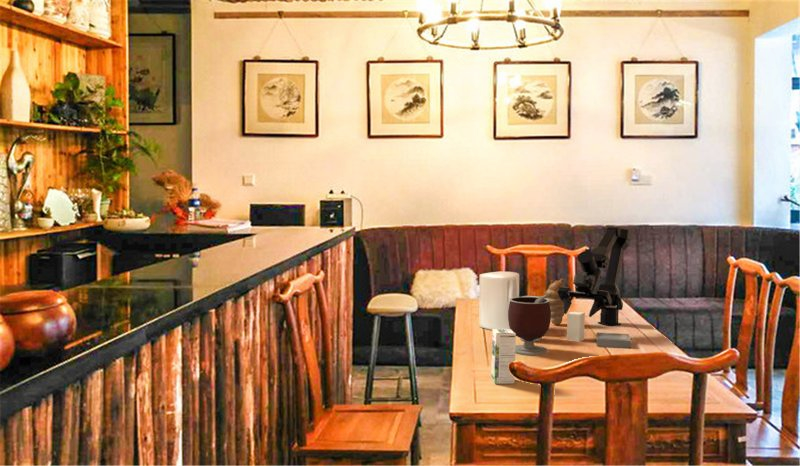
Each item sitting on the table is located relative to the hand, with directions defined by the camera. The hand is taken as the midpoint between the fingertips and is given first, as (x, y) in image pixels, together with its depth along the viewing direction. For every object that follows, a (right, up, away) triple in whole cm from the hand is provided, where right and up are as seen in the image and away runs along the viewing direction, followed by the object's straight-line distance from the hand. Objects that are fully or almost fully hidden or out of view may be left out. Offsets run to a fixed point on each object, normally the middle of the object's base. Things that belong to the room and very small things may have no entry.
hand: (577, 314), depth 258 cm
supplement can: (-17, -9, 0) cm, 19 cm away
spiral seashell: (-2, -7, +25) cm, 26 cm away
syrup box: (-34, -13, -52) cm, 63 cm away
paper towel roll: (-24, -8, +17) cm, 30 cm away
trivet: (+11, -9, -6) cm, 16 cm away
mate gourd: (-20, -10, -17) cm, 28 cm away
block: (-1, -9, 0) cm, 9 cm away
